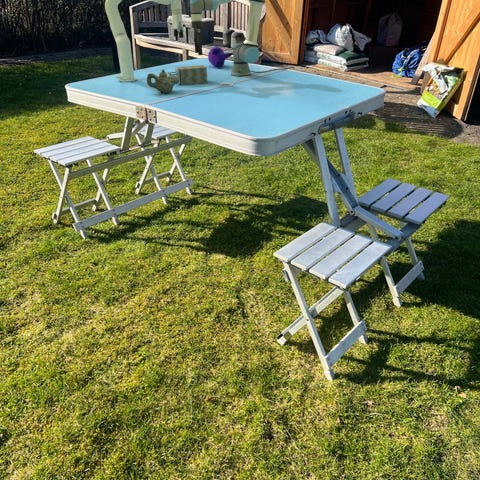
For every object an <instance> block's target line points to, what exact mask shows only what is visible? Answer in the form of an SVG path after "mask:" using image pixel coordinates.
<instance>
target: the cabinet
mask: <svg viewBox="0 0 480 480" xmlns="http://www.w3.org/2000/svg"><path fill="white" fill-rule="evenodd" d="M207 68H208V67H207V66H205V65H204V64H200V65H199V64H198V65H186V66H177V67H176V69H178V70H180V73H181V81H180V84H179V85H181V86H190V85H201V84H208V69H207Z"/></svg>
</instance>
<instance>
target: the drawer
mask: <svg viewBox="0 0 480 480" xmlns="http://www.w3.org/2000/svg"><path fill="white" fill-rule="evenodd" d="M174 69H175V70H174V71H172V72H169V71H167V75H169V76H171V75H175V76H176V77H178V79H179V82H178V83H177V84H178V85H181V84H180V81H181V73H180V70H178V68H174Z"/></svg>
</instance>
